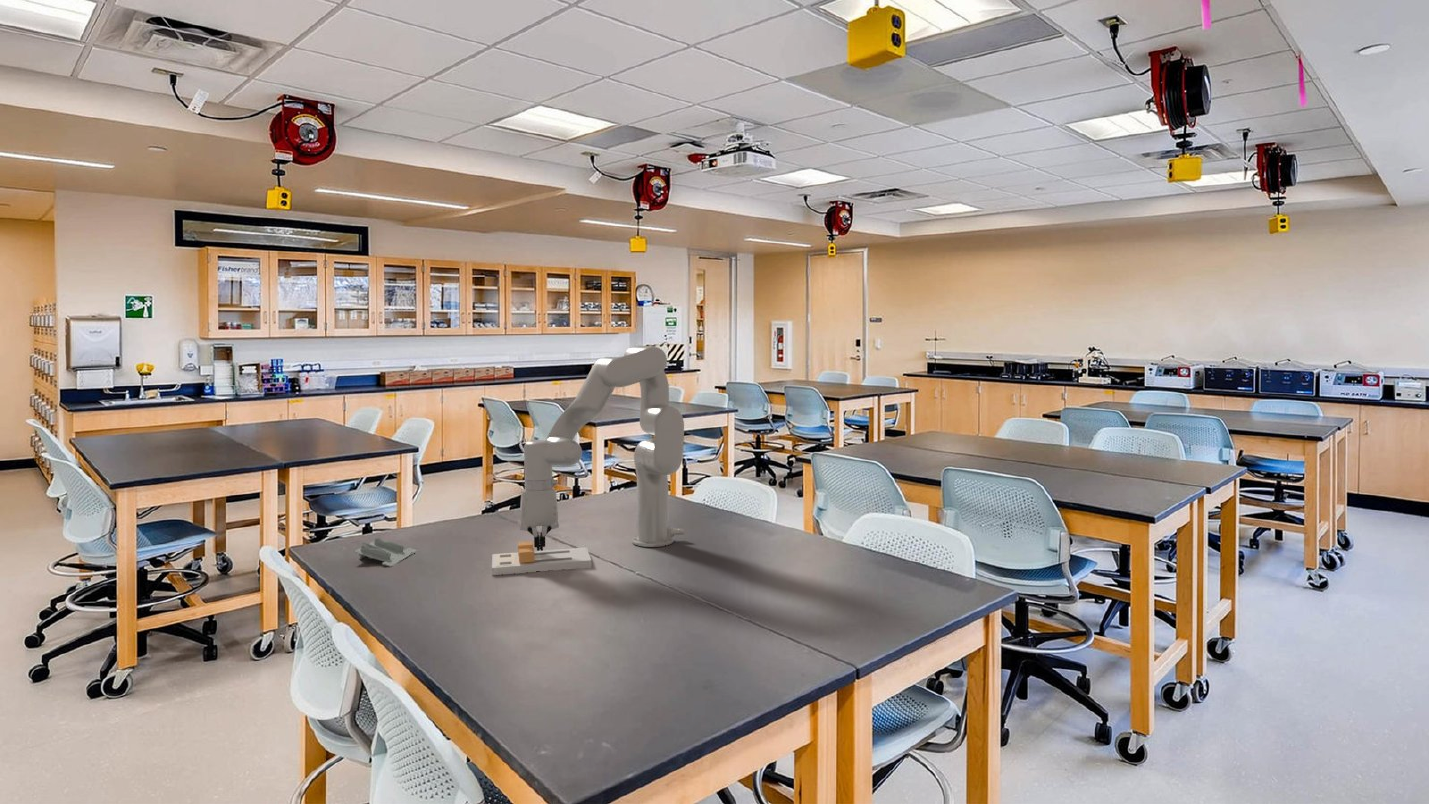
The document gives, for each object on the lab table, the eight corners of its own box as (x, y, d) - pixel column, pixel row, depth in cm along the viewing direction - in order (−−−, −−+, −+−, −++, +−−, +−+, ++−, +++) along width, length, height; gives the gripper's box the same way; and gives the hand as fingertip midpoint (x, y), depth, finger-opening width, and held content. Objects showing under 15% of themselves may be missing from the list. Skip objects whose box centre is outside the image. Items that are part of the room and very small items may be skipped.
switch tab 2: (534, 558, 208) (533, 548, 208) (534, 561, 204) (534, 551, 204) (518, 559, 207) (518, 549, 207) (519, 563, 203) (519, 552, 203)
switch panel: (586, 554, 220) (586, 546, 220) (591, 567, 207) (591, 559, 207) (492, 561, 213) (492, 553, 213) (492, 575, 201) (491, 567, 200)
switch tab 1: (532, 551, 215) (532, 541, 214) (533, 554, 211) (533, 544, 211) (518, 552, 213) (517, 542, 213) (518, 555, 210) (518, 545, 210)
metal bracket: (348, 546, 208) (377, 532, 223) (343, 566, 209) (372, 550, 224) (397, 561, 208) (423, 546, 222) (392, 581, 208) (418, 565, 223)
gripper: (564, 481, 217) (565, 544, 219) (510, 483, 213) (512, 548, 215) (567, 486, 210) (568, 551, 212) (511, 489, 206) (512, 555, 208)
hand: (539, 549), depth 213 cm, fingers closed
